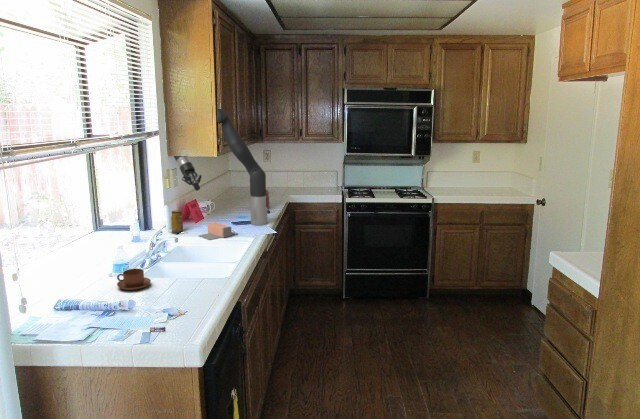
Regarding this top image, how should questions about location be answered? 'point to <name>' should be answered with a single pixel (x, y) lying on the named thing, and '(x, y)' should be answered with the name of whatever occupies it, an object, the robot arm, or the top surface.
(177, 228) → the condiment
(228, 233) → the block
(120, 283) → the cup and saucer
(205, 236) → the mat
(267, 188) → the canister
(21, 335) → the top surface
